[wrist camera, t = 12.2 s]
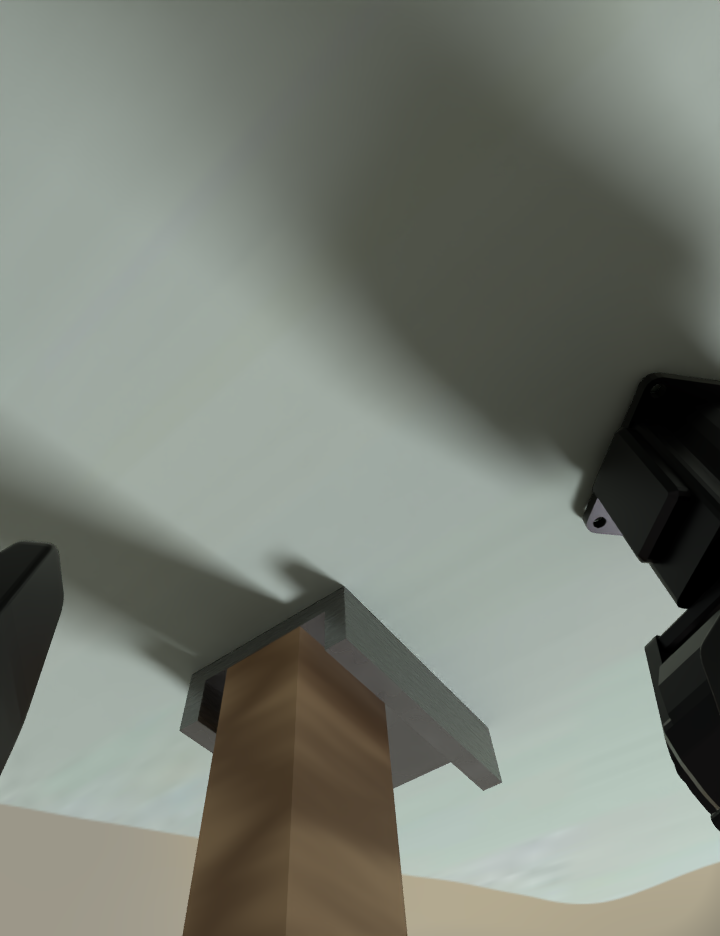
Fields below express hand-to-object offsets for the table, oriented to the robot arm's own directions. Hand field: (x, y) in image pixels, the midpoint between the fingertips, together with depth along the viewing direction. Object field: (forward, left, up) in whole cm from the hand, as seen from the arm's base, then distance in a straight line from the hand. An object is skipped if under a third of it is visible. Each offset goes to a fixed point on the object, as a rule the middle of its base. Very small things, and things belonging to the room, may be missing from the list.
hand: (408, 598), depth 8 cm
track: (-2, +19, -13) cm, 23 cm away
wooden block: (0, +17, -12) cm, 21 cm away
